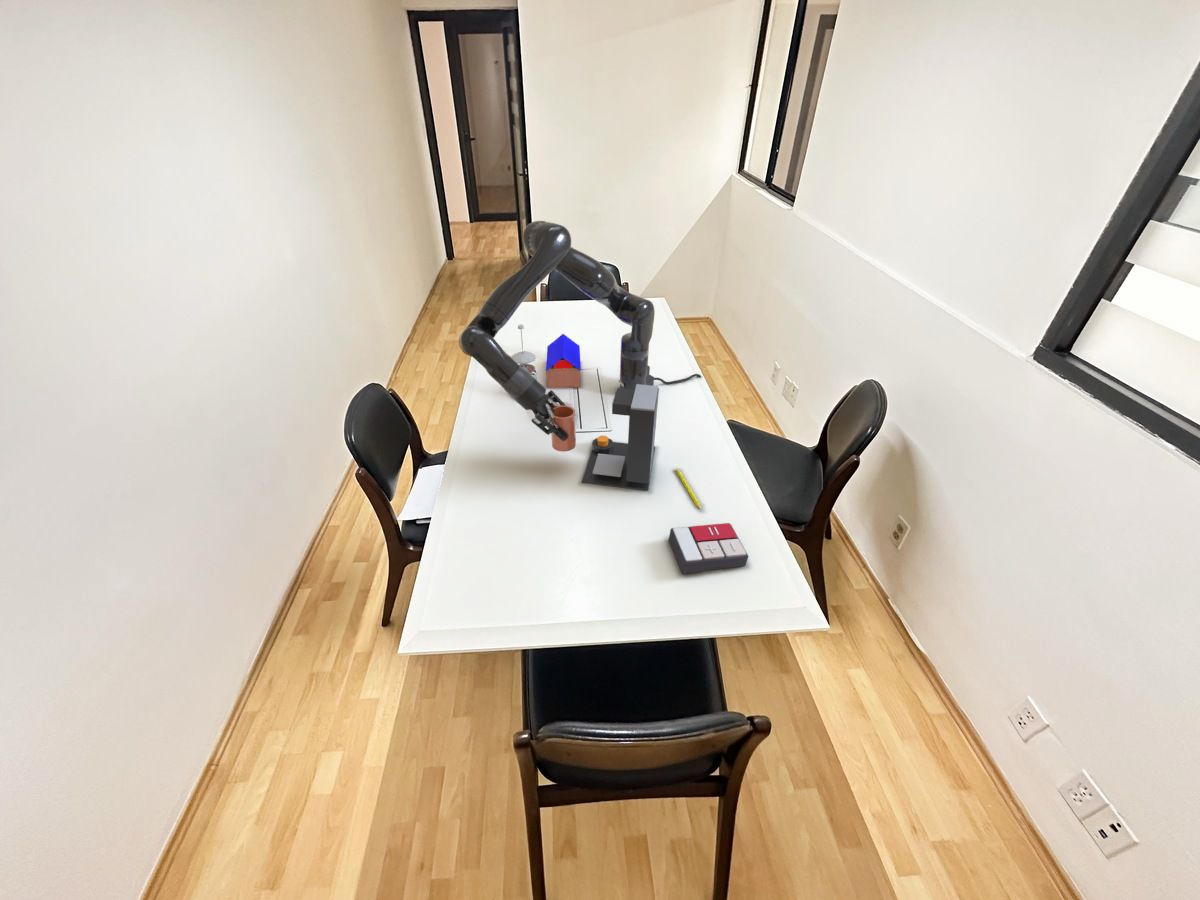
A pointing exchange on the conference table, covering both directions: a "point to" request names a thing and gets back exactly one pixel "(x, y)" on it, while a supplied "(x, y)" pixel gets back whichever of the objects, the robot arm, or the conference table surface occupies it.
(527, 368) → the french press
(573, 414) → the tumbler
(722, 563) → the calculator
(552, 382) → the house
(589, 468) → the coffee maker base
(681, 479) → the pencil
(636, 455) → the coffee maker
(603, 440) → the brew button
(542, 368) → the conference table surface
